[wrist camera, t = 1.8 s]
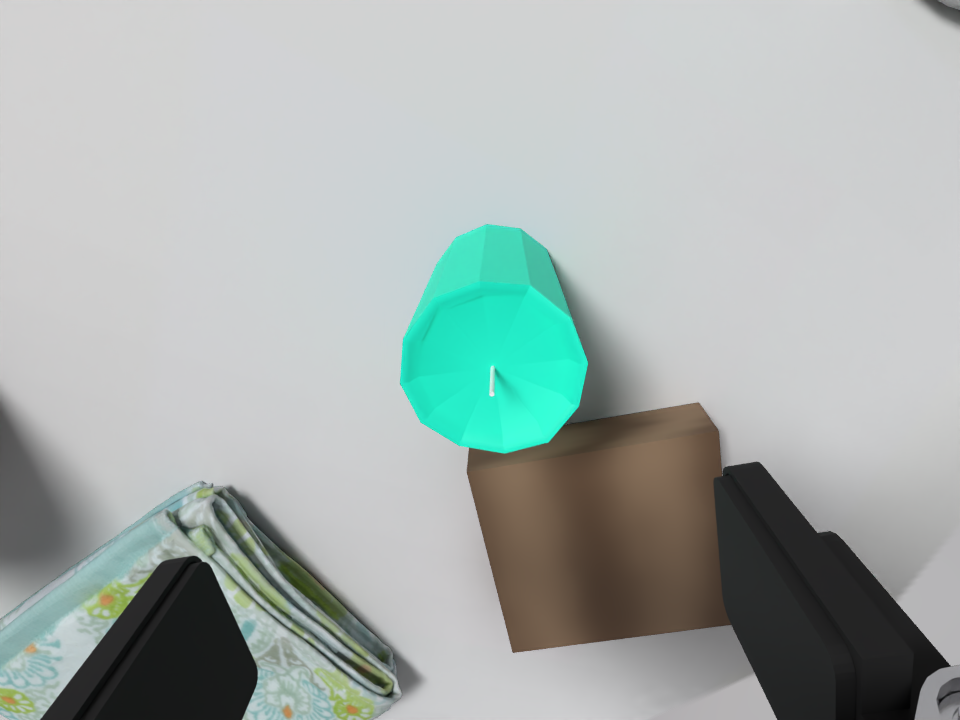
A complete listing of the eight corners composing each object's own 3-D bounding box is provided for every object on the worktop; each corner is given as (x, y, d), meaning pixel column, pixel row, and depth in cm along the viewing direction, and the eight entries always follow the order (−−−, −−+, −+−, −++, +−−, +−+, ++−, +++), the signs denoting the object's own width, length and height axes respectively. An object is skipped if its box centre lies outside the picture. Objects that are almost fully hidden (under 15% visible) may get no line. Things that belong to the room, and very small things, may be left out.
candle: (583, 298, 28) (635, 411, 17) (484, 367, 30) (474, 513, 19) (507, 196, 27) (512, 250, 16) (407, 275, 28) (347, 376, 17)
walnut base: (698, 402, 30) (718, 431, 28) (713, 583, 35) (732, 624, 32) (469, 441, 32) (466, 472, 29) (511, 611, 36) (512, 652, 33)
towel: (419, 655, 38) (408, 731, 33) (192, 775, 43) (154, 856, 39) (218, 453, 33) (170, 509, 28) (-13, 617, 38) (-87, 688, 33)
